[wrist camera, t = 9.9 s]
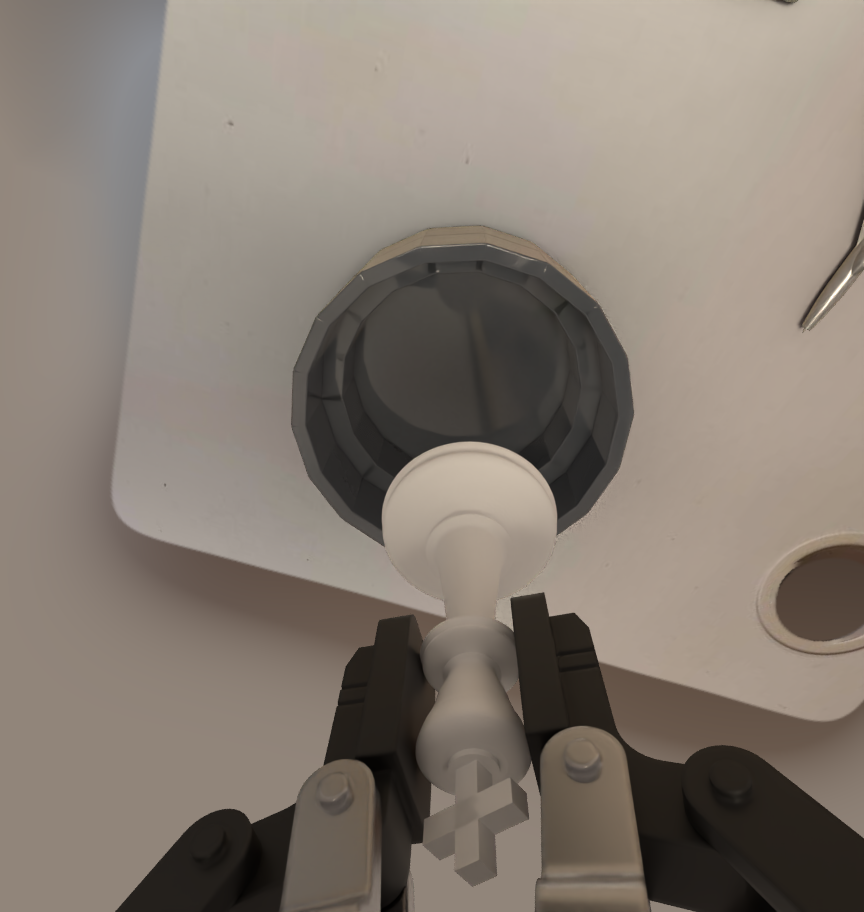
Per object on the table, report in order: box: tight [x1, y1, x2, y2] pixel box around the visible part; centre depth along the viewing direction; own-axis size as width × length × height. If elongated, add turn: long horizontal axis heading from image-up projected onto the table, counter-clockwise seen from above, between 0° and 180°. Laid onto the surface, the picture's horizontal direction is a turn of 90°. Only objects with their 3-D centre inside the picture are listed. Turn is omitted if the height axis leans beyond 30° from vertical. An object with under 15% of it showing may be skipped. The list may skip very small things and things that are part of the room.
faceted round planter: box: [291, 225, 634, 547], centre depth 33 cm, size 15×16×8 cm
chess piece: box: [382, 442, 557, 887], centre depth 14 cm, size 5×5×10 cm
